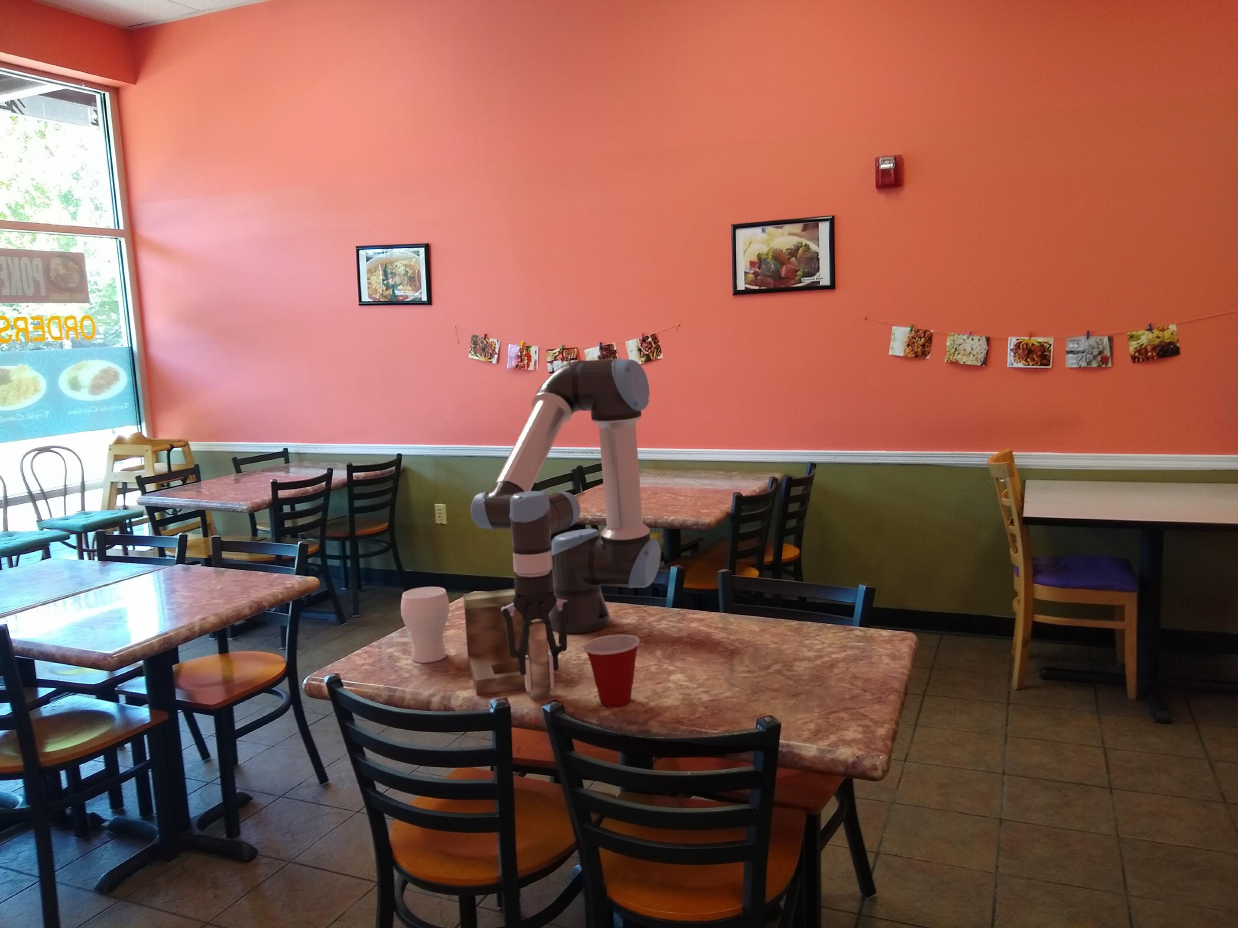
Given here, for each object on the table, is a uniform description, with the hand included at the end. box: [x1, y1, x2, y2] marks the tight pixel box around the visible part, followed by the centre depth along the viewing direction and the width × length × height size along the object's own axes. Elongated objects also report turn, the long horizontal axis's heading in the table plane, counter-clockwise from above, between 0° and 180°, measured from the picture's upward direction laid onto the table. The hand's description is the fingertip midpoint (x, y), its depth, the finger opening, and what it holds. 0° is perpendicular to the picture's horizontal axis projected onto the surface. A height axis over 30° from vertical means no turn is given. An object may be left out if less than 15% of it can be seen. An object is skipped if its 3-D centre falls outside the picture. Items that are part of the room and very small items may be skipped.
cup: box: [400, 586, 450, 664], centre depth 206 cm, size 11×11×15 cm
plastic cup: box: [582, 634, 640, 708], centre depth 176 cm, size 11×11×12 cm
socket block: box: [463, 588, 528, 696], centre depth 193 cm, size 14×18×16 cm
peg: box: [527, 619, 551, 701], centre depth 180 cm, size 4×4×15 cm
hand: (539, 687), depth 181 cm, fingers closed on peg, 4 cm apart
